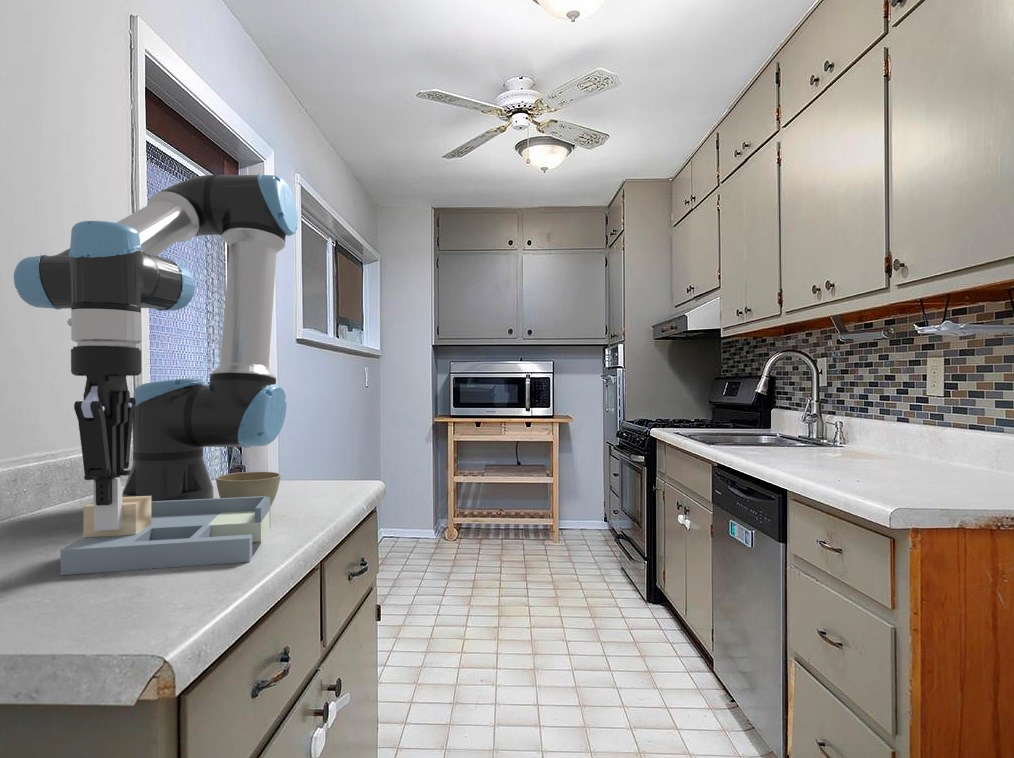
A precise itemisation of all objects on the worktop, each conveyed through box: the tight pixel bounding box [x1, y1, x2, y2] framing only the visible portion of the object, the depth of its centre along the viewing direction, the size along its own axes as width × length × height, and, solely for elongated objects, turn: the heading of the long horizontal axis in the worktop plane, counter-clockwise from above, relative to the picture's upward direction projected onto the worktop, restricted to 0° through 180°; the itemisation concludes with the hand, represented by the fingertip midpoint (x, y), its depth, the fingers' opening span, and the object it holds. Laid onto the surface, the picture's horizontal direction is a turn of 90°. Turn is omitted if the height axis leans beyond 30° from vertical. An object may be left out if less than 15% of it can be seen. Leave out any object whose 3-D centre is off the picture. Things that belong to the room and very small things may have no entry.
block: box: [82, 496, 151, 538], centre depth 80 cm, size 6×6×4 cm
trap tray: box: [60, 496, 271, 576], centre depth 82 cm, size 18×21×5 cm
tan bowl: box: [215, 471, 282, 508], centre depth 100 cm, size 10×10×7 cm
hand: (108, 528), depth 76 cm, fingers closed
